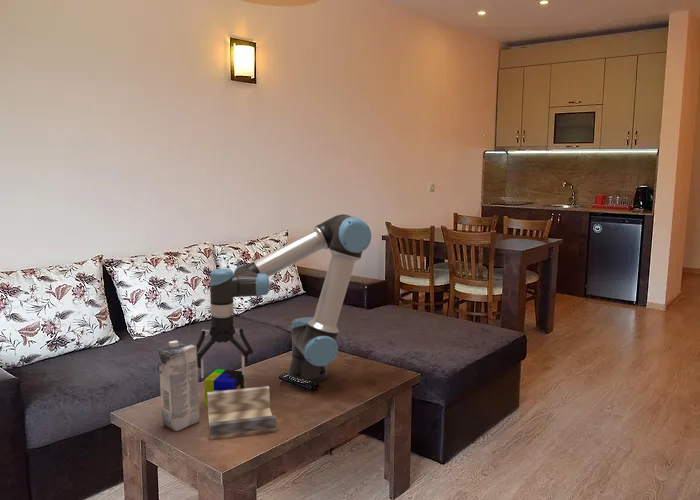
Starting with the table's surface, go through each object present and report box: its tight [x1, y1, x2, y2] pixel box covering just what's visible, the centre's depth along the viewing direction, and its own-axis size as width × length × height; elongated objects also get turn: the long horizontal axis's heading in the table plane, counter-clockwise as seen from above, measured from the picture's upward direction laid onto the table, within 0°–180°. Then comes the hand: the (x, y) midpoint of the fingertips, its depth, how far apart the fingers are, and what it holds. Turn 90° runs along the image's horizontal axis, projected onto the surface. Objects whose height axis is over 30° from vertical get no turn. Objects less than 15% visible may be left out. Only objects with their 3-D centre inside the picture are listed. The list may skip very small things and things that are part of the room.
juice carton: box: [157, 340, 200, 432], centre depth 184 cm, size 9×10×27 cm
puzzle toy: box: [204, 368, 245, 409], centre depth 201 cm, size 10×10×10 cm
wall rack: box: [207, 385, 277, 440], centre depth 186 cm, size 20×17×8 cm
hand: (222, 375), depth 200 cm, fingers open, 13 cm apart
